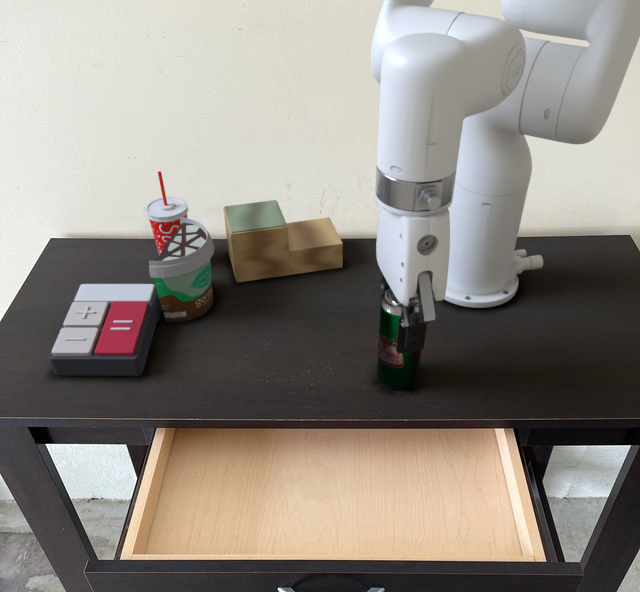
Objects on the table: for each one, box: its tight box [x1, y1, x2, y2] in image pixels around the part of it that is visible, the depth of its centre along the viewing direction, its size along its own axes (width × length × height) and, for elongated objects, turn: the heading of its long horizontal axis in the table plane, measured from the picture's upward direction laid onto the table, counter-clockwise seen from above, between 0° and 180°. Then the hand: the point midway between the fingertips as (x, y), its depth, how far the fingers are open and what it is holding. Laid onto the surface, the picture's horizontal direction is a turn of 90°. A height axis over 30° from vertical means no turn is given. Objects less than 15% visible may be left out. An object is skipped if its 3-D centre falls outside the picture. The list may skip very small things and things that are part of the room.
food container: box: [148, 217, 215, 323], centre depth 89 cm, size 12×6×10 cm, turn 168°
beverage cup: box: [144, 170, 189, 256], centre depth 95 cm, size 6×6×14 cm
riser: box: [222, 199, 344, 283], centre depth 97 cm, size 16×8×8 cm, turn 104°
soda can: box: [376, 288, 422, 390], centre depth 77 cm, size 5×5×12 cm
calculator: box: [48, 283, 163, 377], centre depth 86 cm, size 11×4×15 cm
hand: (401, 333), depth 76 cm, fingers closed on soda can, 5 cm apart
